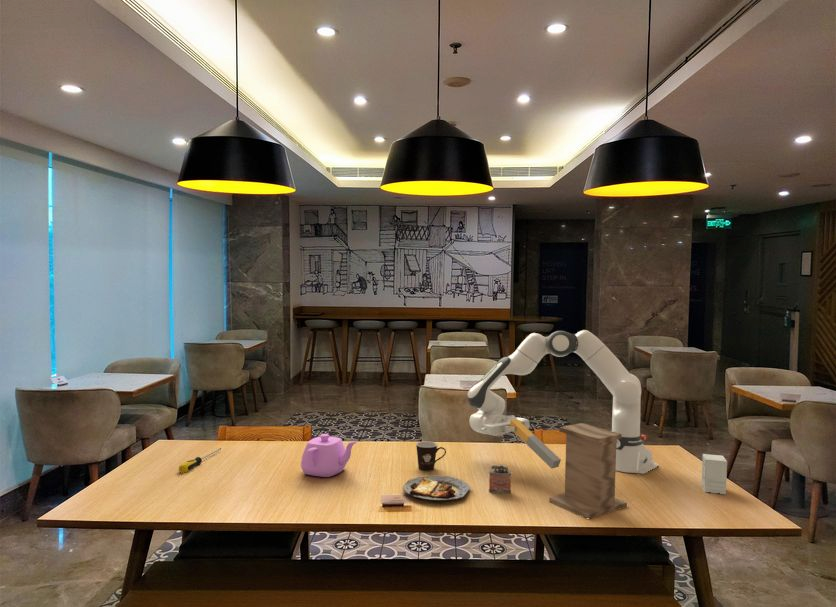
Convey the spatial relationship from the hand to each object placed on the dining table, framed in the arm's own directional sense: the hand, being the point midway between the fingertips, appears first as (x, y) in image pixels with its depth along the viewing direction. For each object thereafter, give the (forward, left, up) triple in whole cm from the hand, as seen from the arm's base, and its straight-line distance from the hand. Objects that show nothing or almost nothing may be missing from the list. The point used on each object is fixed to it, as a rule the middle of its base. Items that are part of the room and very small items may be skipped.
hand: (519, 428), depth 224 cm
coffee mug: (+27, -24, -19) cm, 41 cm away
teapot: (+65, -42, -19) cm, 80 cm away
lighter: (+19, +10, -19) cm, 28 cm away
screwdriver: (+104, -80, -19) cm, 133 cm away
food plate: (+39, -2, -19) cm, 43 cm away
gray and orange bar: (0, +7, -5) cm, 9 cm away
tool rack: (0, +34, -19) cm, 39 cm away
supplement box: (-52, +50, -19) cm, 75 cm away
